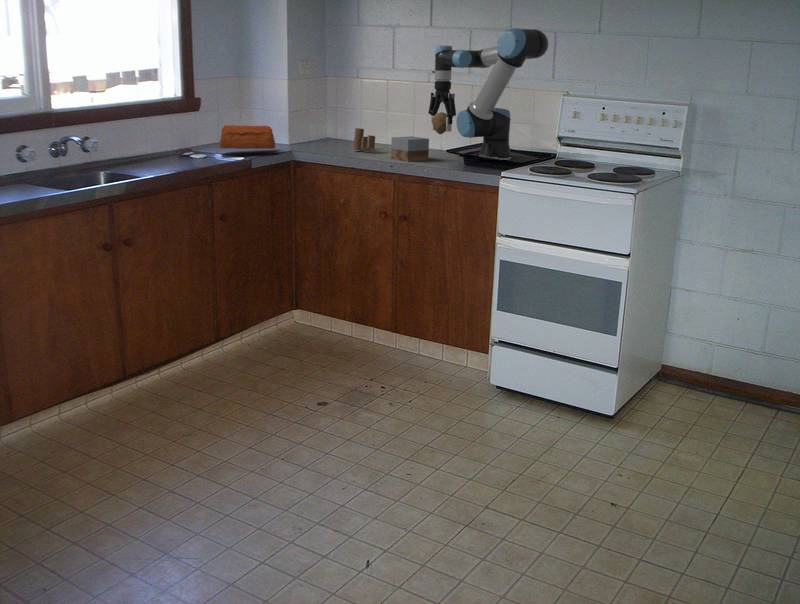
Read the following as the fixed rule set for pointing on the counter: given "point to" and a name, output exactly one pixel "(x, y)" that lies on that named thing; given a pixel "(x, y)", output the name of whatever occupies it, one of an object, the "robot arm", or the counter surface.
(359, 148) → the wooden block set
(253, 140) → the bread
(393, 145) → the tower top slab
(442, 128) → the natural sponge
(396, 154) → the tower base slab
